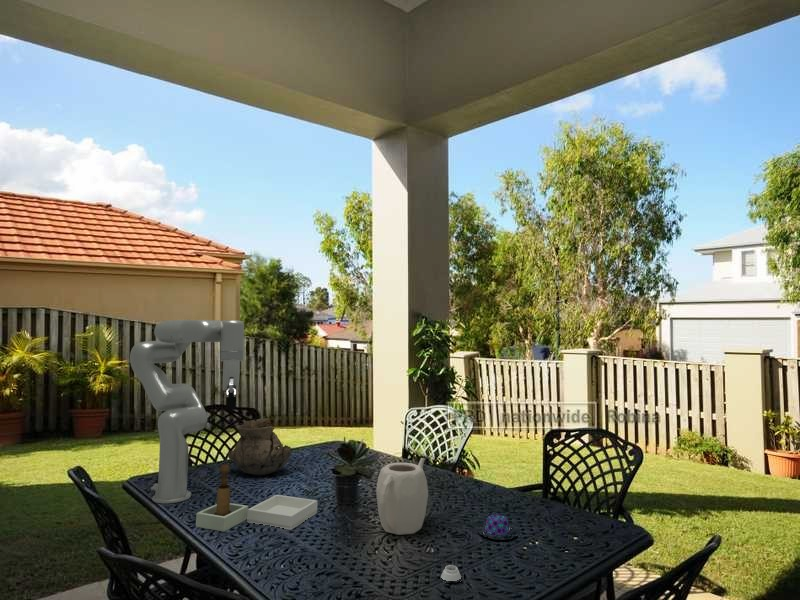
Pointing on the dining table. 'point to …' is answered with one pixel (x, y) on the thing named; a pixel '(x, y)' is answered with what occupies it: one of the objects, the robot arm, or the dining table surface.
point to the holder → (221, 517)
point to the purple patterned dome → (497, 525)
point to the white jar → (451, 573)
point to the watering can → (402, 497)
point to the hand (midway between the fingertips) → (231, 407)
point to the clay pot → (259, 449)
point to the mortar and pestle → (223, 493)
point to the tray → (282, 511)
